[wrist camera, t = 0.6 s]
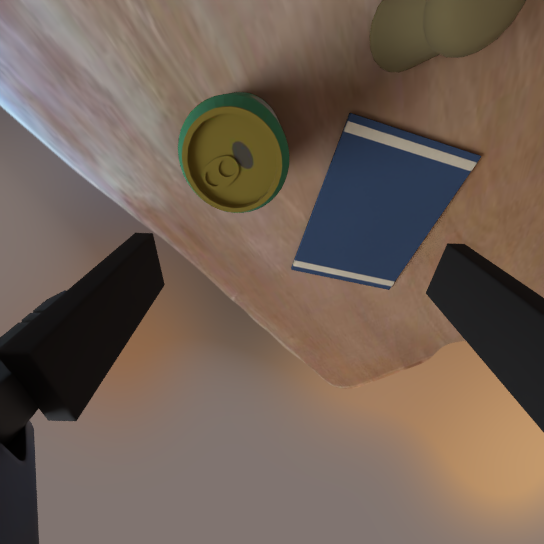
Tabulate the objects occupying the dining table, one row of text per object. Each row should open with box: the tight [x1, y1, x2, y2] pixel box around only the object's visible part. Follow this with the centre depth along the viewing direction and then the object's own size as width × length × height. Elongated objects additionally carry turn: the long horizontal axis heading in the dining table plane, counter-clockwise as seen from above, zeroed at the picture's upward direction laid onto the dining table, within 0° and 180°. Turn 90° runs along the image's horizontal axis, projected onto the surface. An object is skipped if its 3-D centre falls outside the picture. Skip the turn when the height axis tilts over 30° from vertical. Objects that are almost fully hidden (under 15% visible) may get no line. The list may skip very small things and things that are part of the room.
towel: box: [291, 113, 481, 290], centre depth 33 cm, size 20×16×1 cm
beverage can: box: [178, 92, 289, 213], centre depth 22 cm, size 8×8×12 cm
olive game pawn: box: [370, 0, 526, 72], centre depth 18 cm, size 6×6×11 cm
